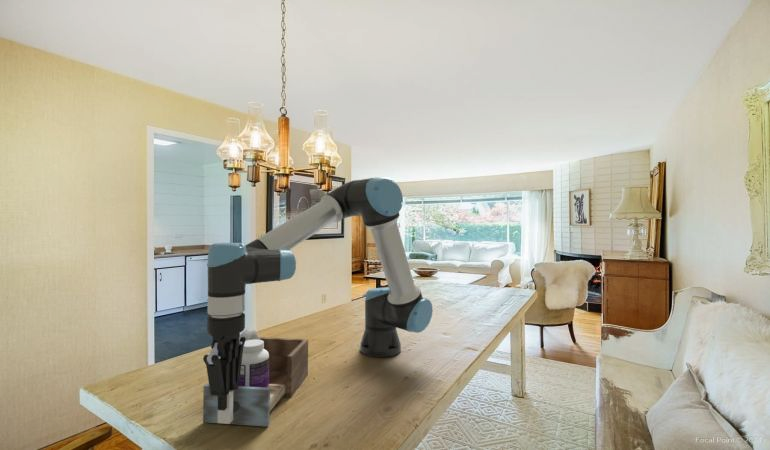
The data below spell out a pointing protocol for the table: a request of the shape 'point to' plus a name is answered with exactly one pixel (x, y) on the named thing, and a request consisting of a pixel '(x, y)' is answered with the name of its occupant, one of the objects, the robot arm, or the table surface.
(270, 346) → the wooden drawer box
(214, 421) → the grey drawer
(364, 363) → the table surface
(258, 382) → the pill bottle
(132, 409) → the table surface
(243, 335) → the donut
